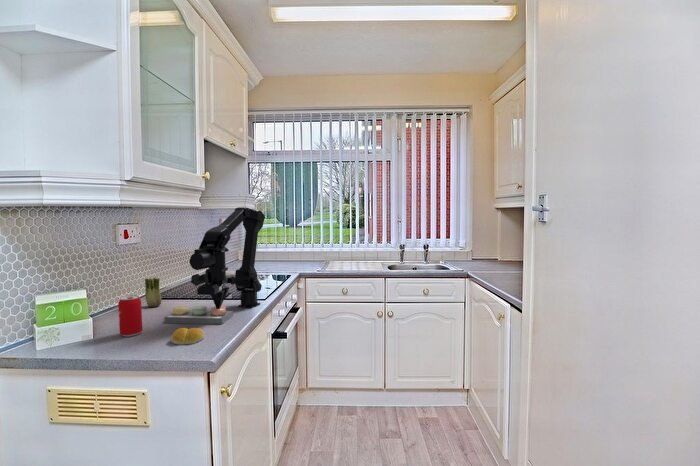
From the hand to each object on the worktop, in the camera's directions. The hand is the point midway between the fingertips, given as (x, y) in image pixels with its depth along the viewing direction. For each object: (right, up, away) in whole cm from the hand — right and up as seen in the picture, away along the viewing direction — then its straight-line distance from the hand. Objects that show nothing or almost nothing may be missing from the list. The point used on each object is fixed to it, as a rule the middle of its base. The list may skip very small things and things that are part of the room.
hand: (218, 308), depth 128 cm
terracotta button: (0, -2, 0) cm, 2 cm away
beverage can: (-23, -5, -14) cm, 27 cm away
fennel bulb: (-33, -3, +18) cm, 38 cm away
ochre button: (-14, -2, +1) cm, 14 cm away
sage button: (-7, -2, +1) cm, 7 cm away
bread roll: (-2, -6, -19) cm, 20 cm away
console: (-7, -4, +1) cm, 8 cm away
